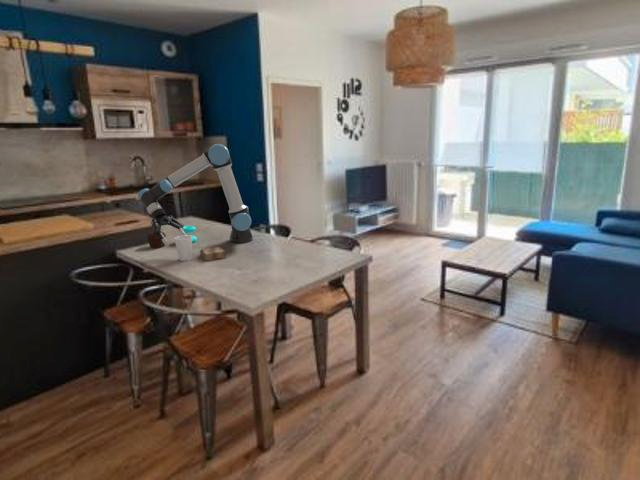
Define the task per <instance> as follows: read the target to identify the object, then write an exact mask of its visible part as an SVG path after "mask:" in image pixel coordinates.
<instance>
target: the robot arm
mask: <svg viewBox="0 0 640 480" xmlns="http://www.w3.org/2000/svg"><path fill="white" fill-rule="evenodd" d="M232 165H233V161H232V159H231V155H230V150H229V149H228V147H226V146H225V145H224V144H222V143H215V144H212V145H210V147H209V148H208V149H207V150H204V152H202V154H201V155H200V156H199V157H197V158H195V159H194V160H192V161H191V162H188V163H187V164H186V165H183V167H181V168H179V169H177V170H176V171H174V172H173V173H171V174H169V175H168V176H167V177H165V178H163V179H160V180H159V181H158V183H157V184H156V185H154V186H152V188H150V189H149V188H143V189H141V190H139V192H138V193H137V197H138V199H139V201H140V202H141V203H142V204H143V206H144V207H145V209H146V211H147V212H148V214H149V215H150V216H151V217H152V219H151V221H150V225H151V228H152V231H151V232H153V235H156V236H158V237H159V239H160V240H162V241H163V243H164V244H165V246H166V245H167V244H168V242H169V241H168V240H167V238H166V237H164V235H163V234H162V233H160V231H162V226H170V227H173V228H175V229H177V230H178V232H179V233H180V236H183V235H187V233H185V231H184V229H183V227H184V226H185V225H184V224H183V223H182V222H180V221H179V220H178V219H176V218H175V217H174V216H173V215H172V214H170V215H169V216H167V213H166V212H165V210H164V209H163V206H161V204H160V203H159V201H160V199H162V198H163V197H164V196H165V195H167V194H169V193H171V191H172V190H174V188H175V187H177V186H179V185H181V184H182V183H184V182H185V181H187V180H188V179H190V178H192V177H193V176H196V175H197V174H199V173H200V172H201V171H203V170H205V169H207V168H208V167H212V169H213V170H214V171H216V173H217V176H218V178H219V181H220V184H221V187H222V190H223V193H224V196H225V198H226V202H227V204H228V208H229V210H228V215H229V218H230V225H231V230H230V236H229V242H230V243H233V244H241V243H242V244H243V243H248V242H252V241H253V240H254V237H253V234H252V231H251V225H252V217H251V216H250V213H249V210H250V209H249V206H247V205H245V204H244V203H243V200H242V196H241V194H240V191H239V187H238V184H237V182H236V178H235V175H234V173H233V169H232ZM156 223H157V224H156Z"/></svg>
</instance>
